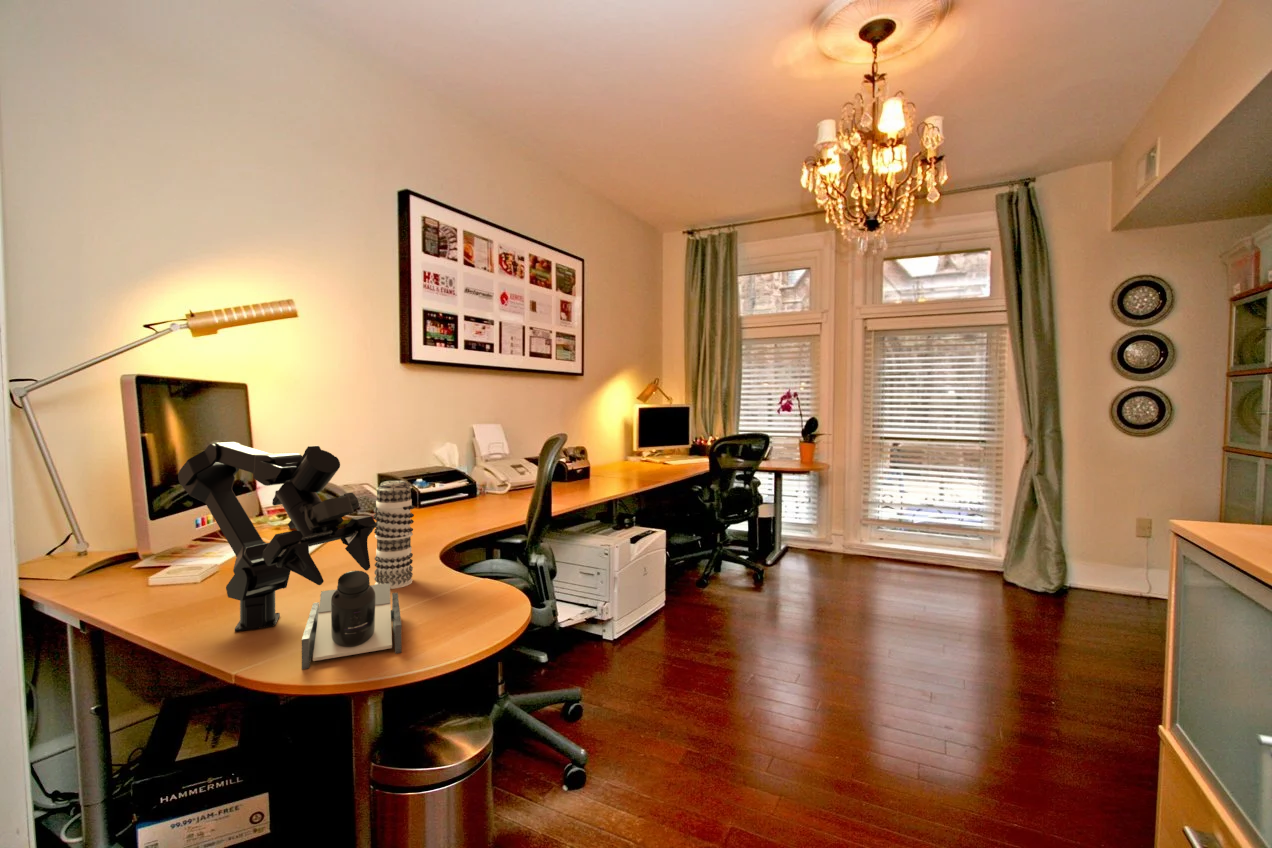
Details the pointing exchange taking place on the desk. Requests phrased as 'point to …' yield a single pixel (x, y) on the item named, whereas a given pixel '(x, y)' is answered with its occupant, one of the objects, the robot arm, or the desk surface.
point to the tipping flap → (378, 641)
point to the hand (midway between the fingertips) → (346, 576)
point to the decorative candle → (393, 534)
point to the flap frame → (311, 627)
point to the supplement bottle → (353, 610)
